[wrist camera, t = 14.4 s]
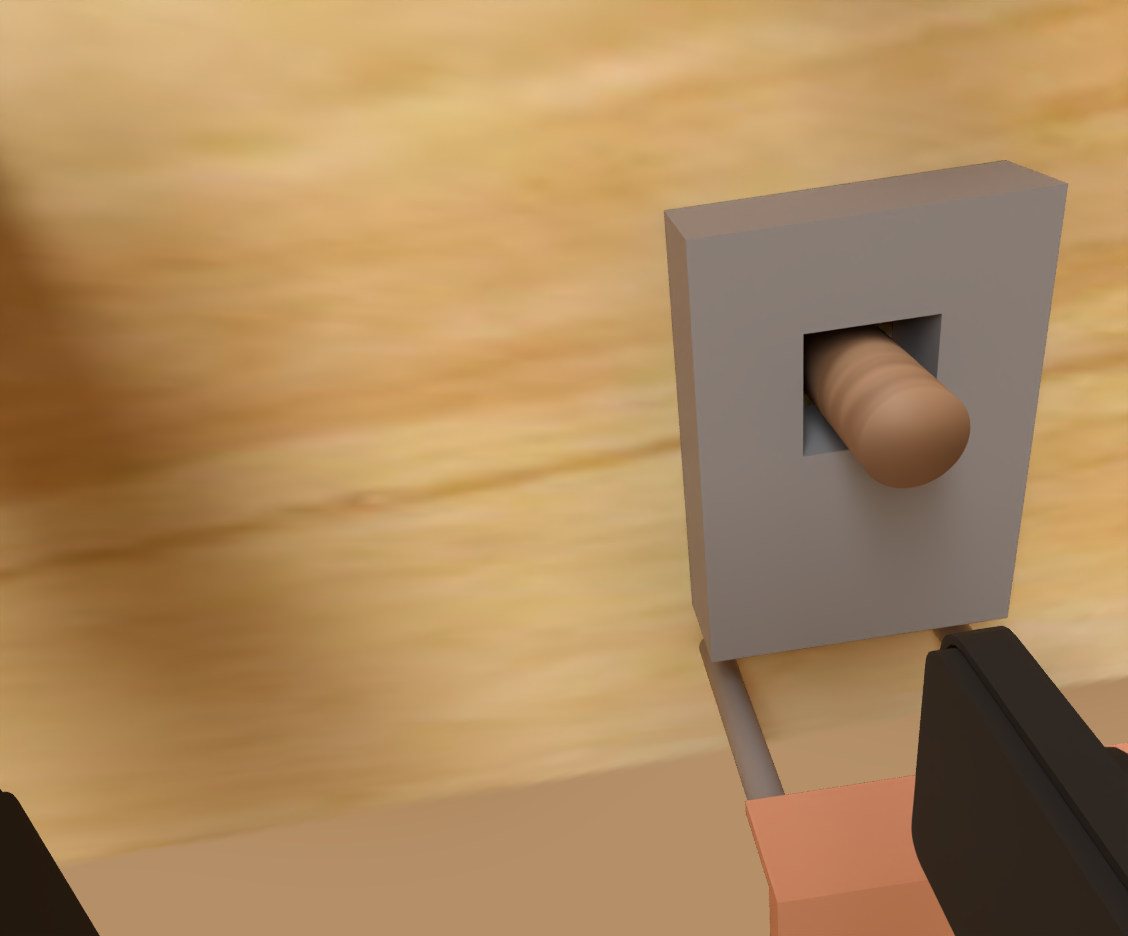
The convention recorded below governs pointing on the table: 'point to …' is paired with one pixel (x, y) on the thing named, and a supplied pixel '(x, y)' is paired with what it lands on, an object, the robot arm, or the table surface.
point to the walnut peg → (884, 405)
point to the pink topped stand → (829, 837)
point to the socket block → (806, 439)
